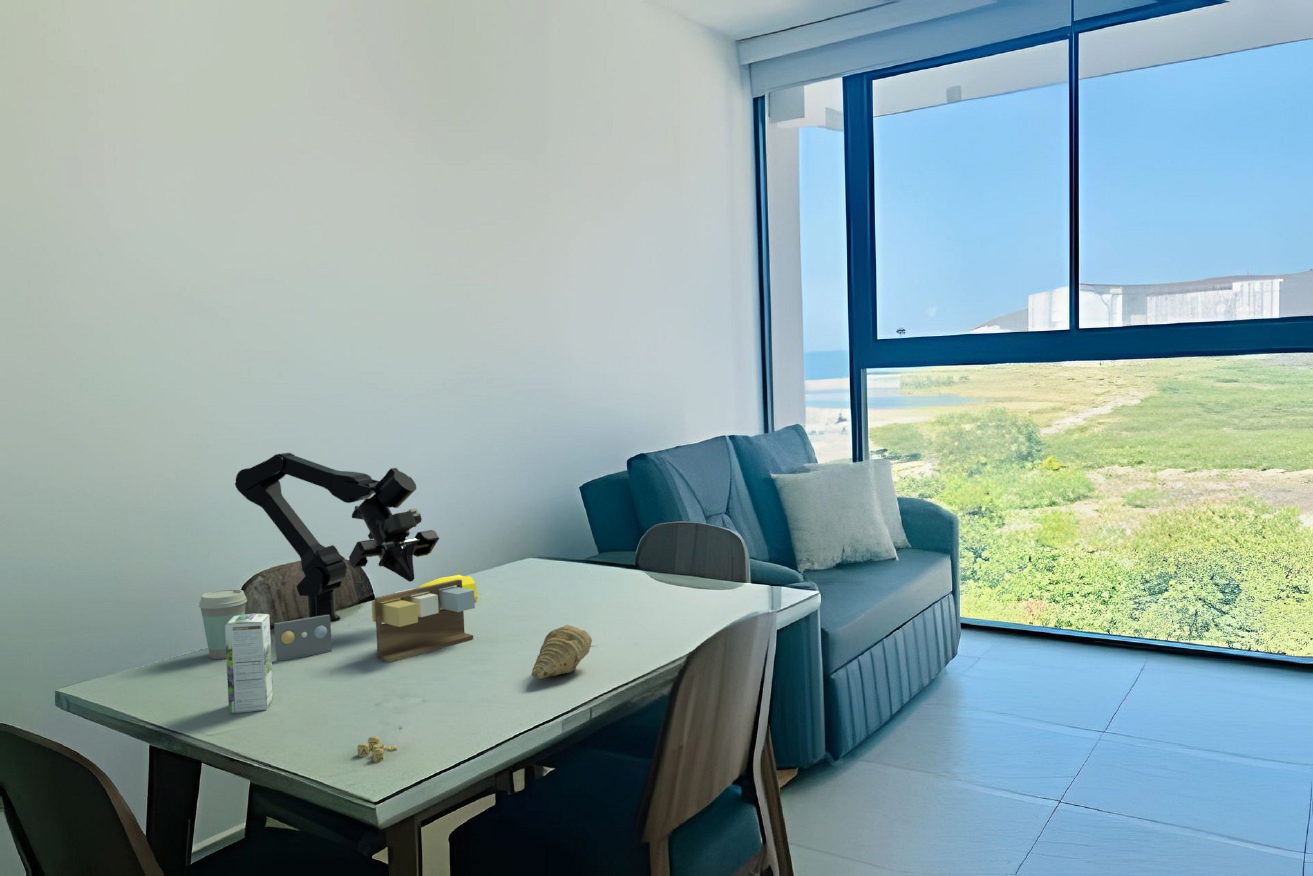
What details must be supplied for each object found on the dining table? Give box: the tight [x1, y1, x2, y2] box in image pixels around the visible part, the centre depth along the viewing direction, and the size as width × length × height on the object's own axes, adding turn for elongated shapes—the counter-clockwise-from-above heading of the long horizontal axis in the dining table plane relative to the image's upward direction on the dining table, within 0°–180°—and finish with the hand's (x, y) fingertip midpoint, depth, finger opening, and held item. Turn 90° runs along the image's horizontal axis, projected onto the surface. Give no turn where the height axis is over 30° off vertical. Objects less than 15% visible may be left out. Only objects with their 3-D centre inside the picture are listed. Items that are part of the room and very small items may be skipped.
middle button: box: [392, 587, 439, 617], centre depth 187 cm, size 9×4×4 cm, turn 48°
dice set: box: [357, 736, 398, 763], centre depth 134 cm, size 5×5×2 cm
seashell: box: [531, 624, 593, 680], centre depth 166 cm, size 14×8×8 cm, turn 160°
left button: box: [371, 599, 418, 627], centre depth 181 cm, size 9×4×4 cm, turn 48°
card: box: [273, 615, 333, 662], centre depth 184 cm, size 1×10×7 cm, turn 124°
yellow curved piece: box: [418, 574, 479, 610], centre depth 220 cm, size 18×7×8 cm
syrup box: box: [225, 613, 274, 714], centre depth 155 cm, size 6×6×14 cm
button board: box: [374, 579, 474, 663], centre depth 186 cm, size 4×19×12 cm, turn 138°
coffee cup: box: [198, 588, 248, 660], centre depth 187 cm, size 8×9×12 cm
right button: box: [439, 586, 476, 612], centre depth 190 cm, size 9×4×4 cm, turn 48°
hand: (412, 580), depth 199 cm, fingers closed
